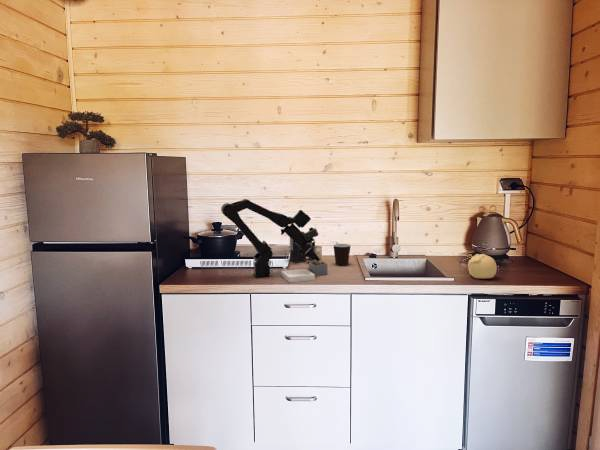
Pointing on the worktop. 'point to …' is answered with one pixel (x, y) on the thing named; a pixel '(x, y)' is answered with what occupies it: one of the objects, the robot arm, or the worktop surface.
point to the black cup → (341, 254)
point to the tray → (297, 275)
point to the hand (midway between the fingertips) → (319, 258)
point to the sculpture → (482, 266)
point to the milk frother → (297, 253)
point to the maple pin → (318, 254)
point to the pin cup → (318, 268)
